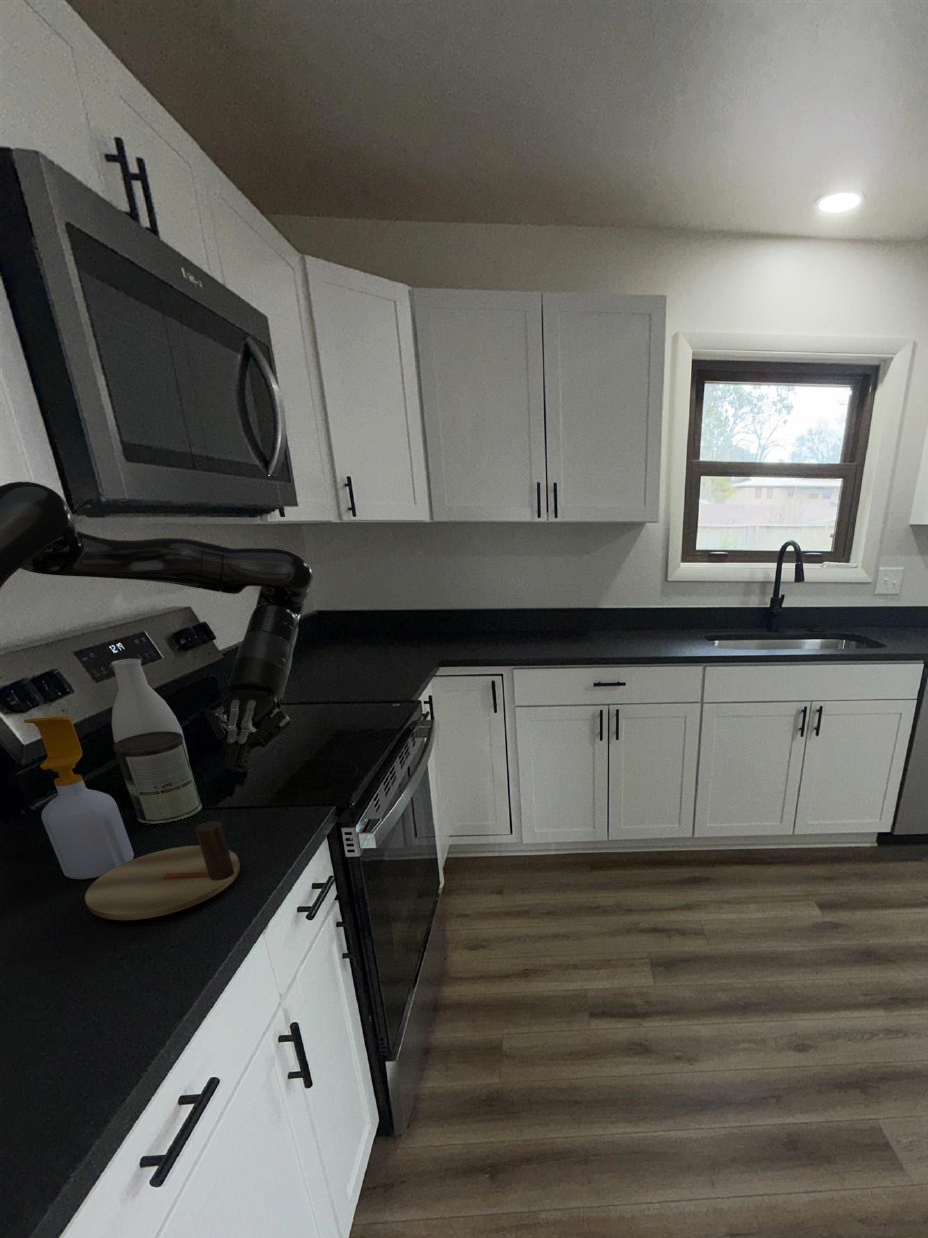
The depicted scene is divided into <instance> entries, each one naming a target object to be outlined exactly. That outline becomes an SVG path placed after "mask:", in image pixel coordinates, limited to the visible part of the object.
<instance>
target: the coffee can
mask: <svg viewBox="0 0 928 1238" xmlns="http://www.w3.org/2000/svg"><path fill="white" fill-rule="evenodd" d="M183 736H184V735H183ZM183 736H182V735H181V734H180V733H177V732H171V731H160V732H150V733H144V734H138V735H134V736H131V737H127V738H124V739H122V740H120V741H118V742H116V743H115V742H114V744H112V749H113V752H114V753H115V755H116V758H117V762H118V764H119V767H120V770H121V773H122V777H123V779H124V782H125V785H126V787H127V790H128V794H129V797H130V800H131V803H132V805H133V808H134V812H135V814H136V819H138V820H137V821H138V822H139V821H140V822H142V823H141V824H143V823H147V824H146V825H149V824H148V823H150V824H156V823H158V824H159V823H166V822H171V821H176V822H178V821H177V820H180V819H183V820H185V819H184V818H186V819H188V818H191V817H192V816H194V815H196V814H197V813H199V812H200V811H201V810H202V807H203V804H202V802H201V799H200V796H199V793H198V788H197V785H196V782H195V778H194V775H193V771H192V768H191V764H190V761H188V760H189V756H188V757H187V754H188V753H187V754H186V750H185V747H184V743H183ZM187 817H188V818H187ZM180 821H181V820H180ZM140 822H139V823H140ZM159 825H160V824H159Z"/></svg>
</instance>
